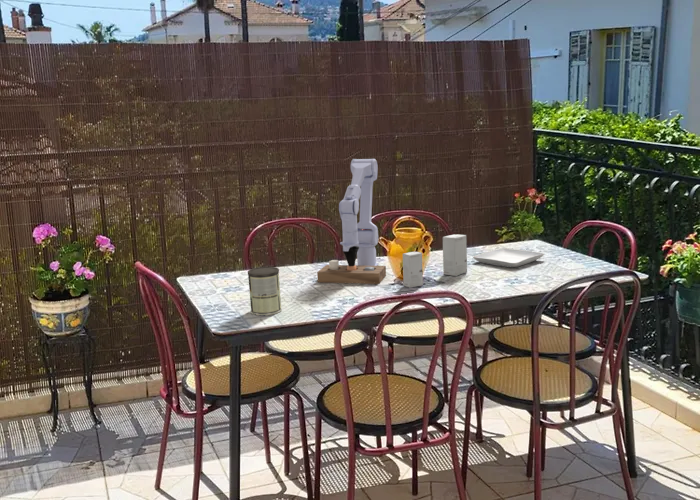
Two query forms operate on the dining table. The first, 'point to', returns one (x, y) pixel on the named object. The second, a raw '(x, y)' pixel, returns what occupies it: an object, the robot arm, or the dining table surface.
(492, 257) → the salad plate
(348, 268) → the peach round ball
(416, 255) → the skincare box
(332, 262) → the cream plunger
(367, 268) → the slate plunger
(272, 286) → the coffee can
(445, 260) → the skincare box
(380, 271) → the walnut button box
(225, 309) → the dining table surface
